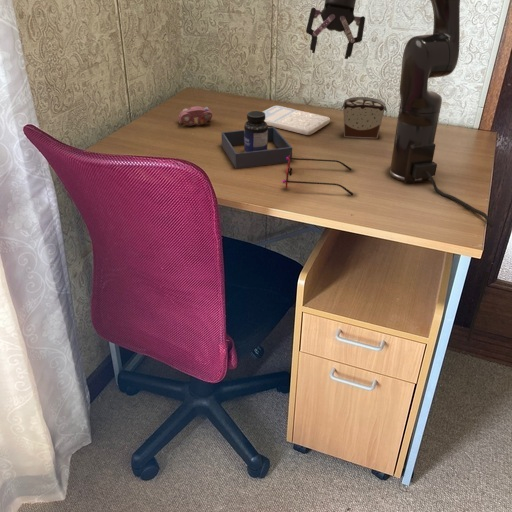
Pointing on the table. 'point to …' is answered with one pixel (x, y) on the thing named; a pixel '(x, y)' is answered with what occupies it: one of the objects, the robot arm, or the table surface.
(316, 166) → the table surface
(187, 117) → the pink toy car
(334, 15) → the robot arm
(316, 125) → the calculator
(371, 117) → the food container
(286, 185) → the glasses
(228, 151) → the fence
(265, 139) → the pill bottle
